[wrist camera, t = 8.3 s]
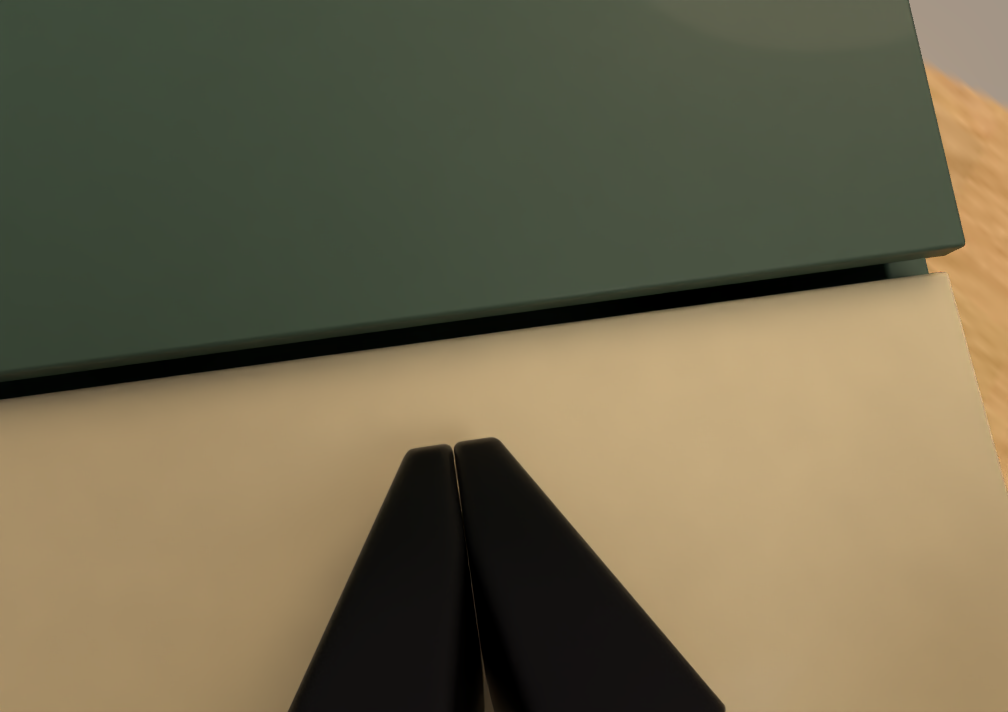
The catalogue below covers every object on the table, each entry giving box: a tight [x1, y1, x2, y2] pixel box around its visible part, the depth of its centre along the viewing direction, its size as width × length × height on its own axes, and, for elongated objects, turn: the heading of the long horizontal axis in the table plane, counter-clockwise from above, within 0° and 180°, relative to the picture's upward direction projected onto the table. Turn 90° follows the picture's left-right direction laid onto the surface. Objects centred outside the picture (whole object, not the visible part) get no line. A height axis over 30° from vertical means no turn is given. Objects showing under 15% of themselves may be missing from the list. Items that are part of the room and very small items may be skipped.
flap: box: [0, 272, 1008, 712], centre depth 8 cm, size 6×11×1 cm, turn 98°
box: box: [0, 0, 965, 400], centre depth 13 cm, size 13×11×9 cm
